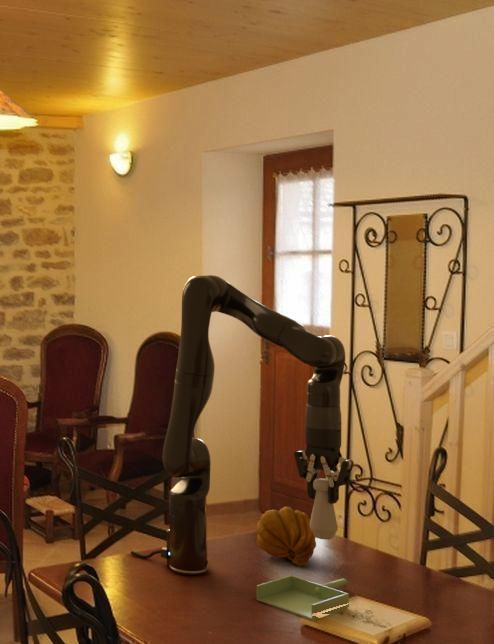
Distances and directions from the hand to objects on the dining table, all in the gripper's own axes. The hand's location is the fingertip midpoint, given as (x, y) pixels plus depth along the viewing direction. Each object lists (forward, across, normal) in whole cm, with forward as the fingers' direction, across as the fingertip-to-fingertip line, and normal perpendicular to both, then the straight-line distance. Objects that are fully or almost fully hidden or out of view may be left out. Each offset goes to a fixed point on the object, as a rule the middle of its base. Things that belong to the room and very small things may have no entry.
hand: (323, 500), depth 201 cm
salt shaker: (+8, 0, 0) cm, 8 cm away
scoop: (+24, -3, +2) cm, 24 cm away
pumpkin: (+24, -26, +23) cm, 42 cm away
